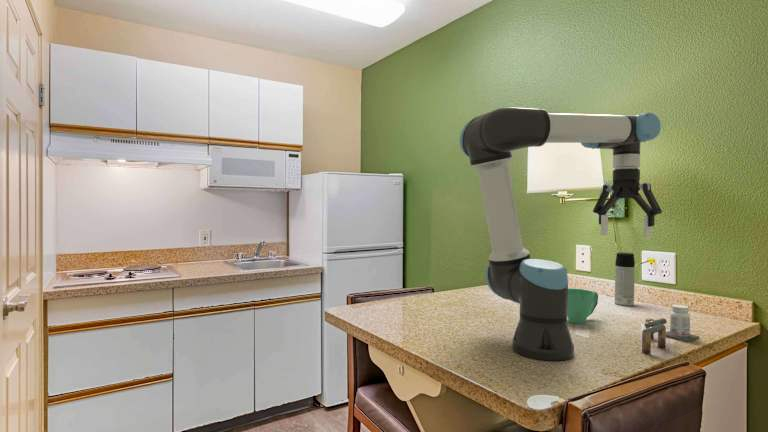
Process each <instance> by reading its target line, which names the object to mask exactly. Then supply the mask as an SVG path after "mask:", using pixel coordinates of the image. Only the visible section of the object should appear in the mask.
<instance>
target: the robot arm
mask: <svg viewBox="0 0 768 432" xmlns="http://www.w3.org/2000/svg"><path fill="white" fill-rule="evenodd" d="M660 132H661V120H660V119H659V117H658V115H656V114H655V113H652V112H645V113H639V114H634V115H632V114H631V115H624V114H623V115H622V114H593V113H591V114H589V113H586V114H585V113H556V112H555V113H552V112H551V113H550V112H548V110H546V109H543V108H530V107H529V108H527V107H500V108H497V109H494V110H491V111H489V112H487V113H483V114H481V115H477V116H475V117H474V118H472V119H471V120H469V121H468V122H467V123H465V125H464V126H463V128H462V129H461V132H460V134H459V146H460V149H461V151H462V152H463V154H464V155H465V156H467V157H468V158H469V163H470V167H471V168H473V169H474V170H475V171H476V172H477V175H478V176H477V177H478V182H479V186H480V192H481V197H482V202H483V208H484V213H485V219H486V222H487V229H488V233H489V240H490V244H491V249H492V251H491V253H490V254H489V256H488V263H489V264H488V265H487V268H486V270H485V281H486V284H487V287H488V288H489V289H490V291H491V292H492V293H493V294H495V295H497V296H498V297H500V298H502V299H503V300H506V301H507V300H509V301H511V302H514V303H517V304H518V305H519V320H518V323H517V325H516V328H515V329H516V330H515V332H514V335H513V338H512V344H511V345H512V350H513V351H514V352H515V353H516V354H519V355H521V356H523V357H526V358H530V359H535V360H540V361H548V362H549V361H552V362H553V361H555V362H557V361H566V360H569V359H572V358H573V357H574V356H575V345H574V342H573V340H572V336H571V332H570V329H569V326H568V317H567V302H568V289H569V277H568V271H567V268H566V267H565V266H564V265H563V264H562V263H559V262H556V261H552V260H546V259H542V258H541V259H540V258H531V254H530V251H529V250H528V249H527V248H525V247H524V246H523V241H522V235H521V229H520V224H519V218H518V213H517V209H516V201H515V197H514V192H513V187H512V186H513V185H512V180H511V175H510V171H509V164H510V162H511V160H513V155H512V151H516V150H520V149H524V148H534V147H538V148H539V147H542V146H544V145H545V144H546V143H547V144H549V143H550V144H551V143H552V144H553V143H554V144H556V143H557V144H559V143H560V144H562V143H565V144H566V143H567V144H569V143H578V144H581V146H583V147H584V148H588V149H592V150H595V149H598V150H599V149H600V150H602V149H604V150H612V168H613V170H612V185H610V184H603V185H602V191H601V193H600V196H599V197H598V200H597V201H596V204H595V206H594V208H593V210H592V212H593V213H595V214H598V225H600V235H601V236H607V235H609V233H608V232H609V214H607V213H608V212H609V211H610V209H612V207H613V206H614V205H615V203H617V201H618V200H620V199H633V200H634V201H635V202H636V203H637V205H638V206H639V207H640V208H641V209H642V210H643V212H644V213H645V214H646V215H644V219H643V221H644V222H643V227H644V228H643V238H644V239H645V238H646V239H647V238H649V239H650V238H652V228H653V227H655V217H656V215H660V214H662V213H663V211H662V208H661V206H660V205H659V203H658V201H657V199H656V197H655V195H654V193H653V192H652V185H651V183H648V182H645V183H641V182H640V181H641V170H640V169H639V168H640V167H641V143H646V142H647V141H652V140H655V139H656V138H657V137H658V136H659V135H660ZM640 190H641V191H642V192H643V194H644V196H645V199H646V200H647V201H646V200H645V199H644V198H643V197H642V195H641V194H640V193H639V192H640ZM611 192H613V193H612V194H611V195H610V193H611ZM609 195H610V198H609V199H608V197H609ZM607 199H608V200H607ZM647 202H648V203H647Z"/></svg>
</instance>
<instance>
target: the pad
mask: <svg viewBox="0 0 768 432" xmlns="http://www.w3.org/2000/svg"><path fill="white" fill-rule="evenodd" d="M666 338H669V339H673V340H677V341H681V340H682V342H685V341H686V343H689V341H690V342H692V340H693V341H695V340H694V339H696V340H698V339H699V338H700V336H699V335H697V334H696V335H695V334H691V333H690V336H688V337H680V336H675V335H672V334H671V333H670V330H669V331H666ZM697 338H698V339H697Z"/></svg>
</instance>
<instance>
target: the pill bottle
mask: <svg viewBox="0 0 768 432" xmlns="http://www.w3.org/2000/svg"><path fill="white" fill-rule="evenodd" d="M689 312H690V311H689V306H687V305H684V304H683V305H682V304H672V306H671V311H670V314H669V315H670V317H669V318H670V320H669V321H670V322H669V325H670V326H669V327H670V328H669V329H670V330H669V331H670V333H671V334H672V335H675V336H680V337H688V336H690V334H691V314H690V313H689Z"/></svg>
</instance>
